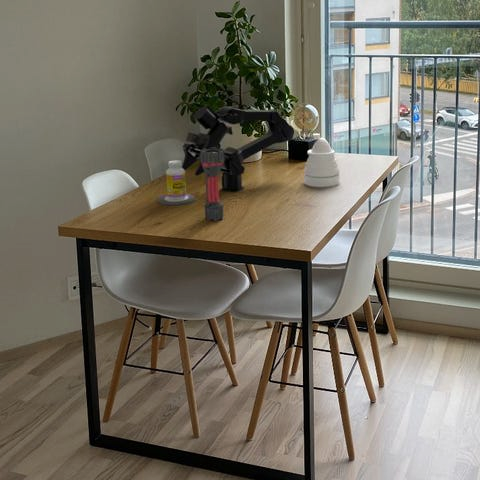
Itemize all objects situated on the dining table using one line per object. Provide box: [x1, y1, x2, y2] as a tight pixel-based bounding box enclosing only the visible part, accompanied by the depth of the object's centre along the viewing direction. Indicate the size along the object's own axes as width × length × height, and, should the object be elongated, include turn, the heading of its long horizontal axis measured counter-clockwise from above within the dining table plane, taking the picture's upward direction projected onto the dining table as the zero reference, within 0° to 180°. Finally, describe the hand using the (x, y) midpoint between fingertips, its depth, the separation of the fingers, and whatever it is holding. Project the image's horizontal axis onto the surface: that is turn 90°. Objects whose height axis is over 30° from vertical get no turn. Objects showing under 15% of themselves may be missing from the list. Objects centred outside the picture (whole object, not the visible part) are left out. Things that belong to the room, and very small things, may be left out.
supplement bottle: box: [165, 160, 187, 200], centre depth 307 cm, size 7×7×13 cm
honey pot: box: [303, 133, 340, 188], centre depth 324 cm, size 13×13×18 cm
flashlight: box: [200, 147, 225, 222], centre depth 281 cm, size 8×8×23 cm
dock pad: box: [157, 193, 196, 207], centre depth 309 cm, size 13×13×1 cm
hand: (188, 172), depth 309 cm, fingers open, 9 cm apart
